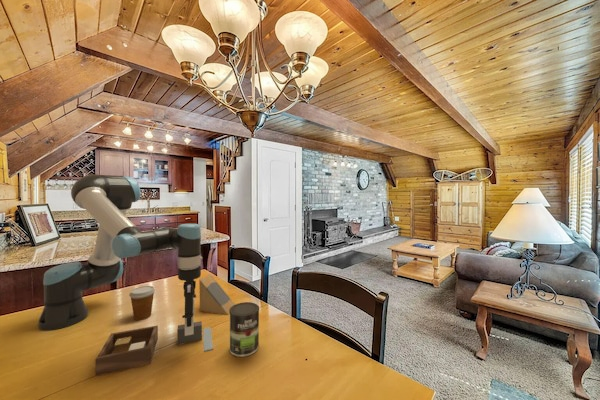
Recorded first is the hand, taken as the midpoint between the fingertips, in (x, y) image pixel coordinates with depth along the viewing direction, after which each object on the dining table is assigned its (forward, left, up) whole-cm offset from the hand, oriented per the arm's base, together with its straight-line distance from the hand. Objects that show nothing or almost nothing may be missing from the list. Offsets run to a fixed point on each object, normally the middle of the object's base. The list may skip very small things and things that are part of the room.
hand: (189, 324), depth 90 cm
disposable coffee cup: (-28, -20, -7) cm, 35 cm away
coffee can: (+10, +18, -7) cm, 22 cm away
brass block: (-1, -21, -6) cm, 21 cm away
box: (+2, -18, -7) cm, 19 cm away
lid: (0, 0, -7) cm, 7 cm away
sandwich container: (-23, +12, -7) cm, 27 cm away
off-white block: (+4, -16, -6) cm, 17 cm away
